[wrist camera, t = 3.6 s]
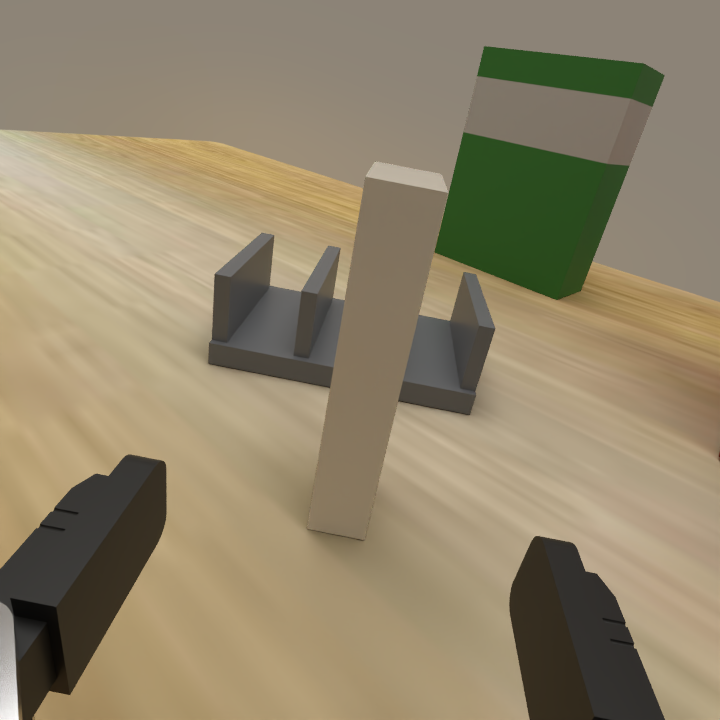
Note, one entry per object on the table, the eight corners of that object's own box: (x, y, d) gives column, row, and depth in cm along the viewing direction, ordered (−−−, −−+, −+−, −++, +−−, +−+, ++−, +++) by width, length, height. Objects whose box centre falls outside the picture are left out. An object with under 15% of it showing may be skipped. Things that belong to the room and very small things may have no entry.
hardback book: (434, 252, 69) (484, 46, 58) (463, 247, 74) (514, 57, 63) (556, 299, 60) (644, 63, 49) (580, 290, 65) (664, 75, 54)
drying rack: (257, 300, 44) (263, 231, 42) (456, 339, 44) (475, 272, 42) (208, 363, 34) (211, 276, 31) (469, 414, 34) (496, 332, 31)
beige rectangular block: (322, 464, 27) (375, 161, 20) (371, 474, 27) (441, 174, 20) (306, 528, 23) (365, 176, 16) (364, 540, 23) (448, 192, 16)
